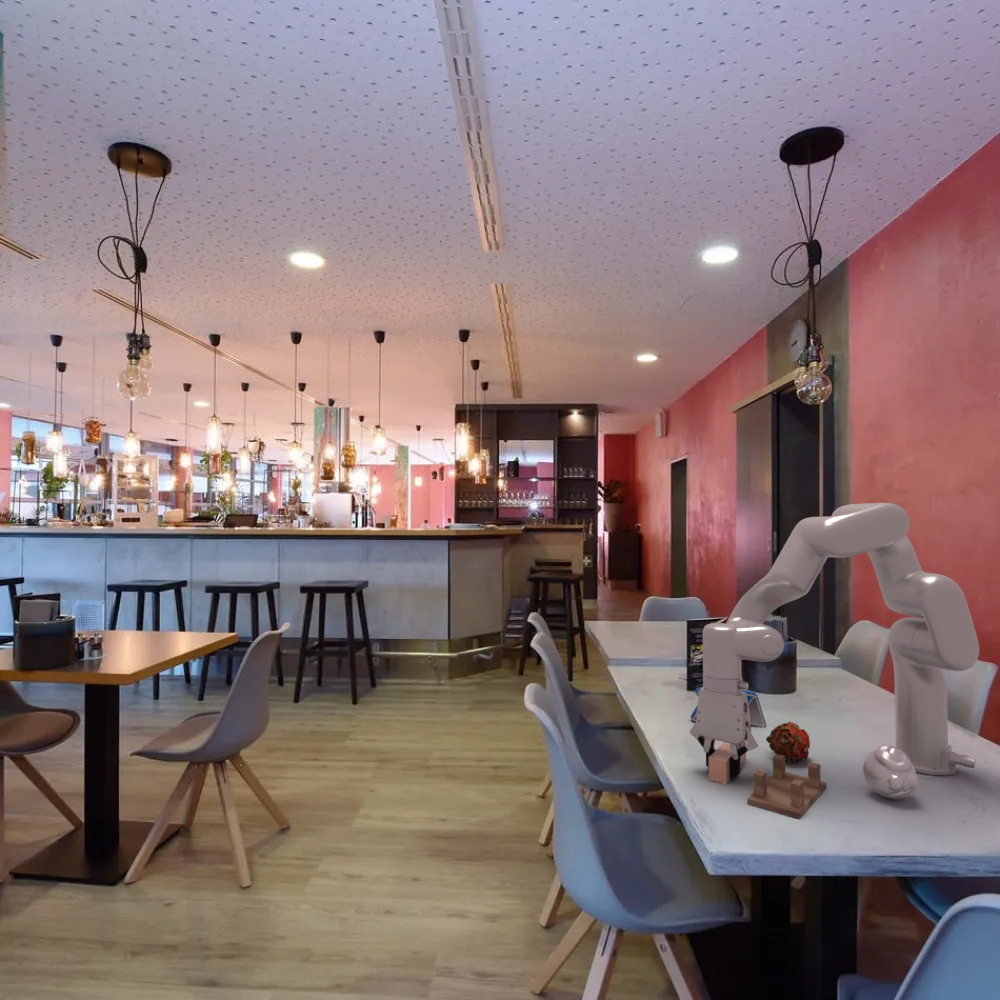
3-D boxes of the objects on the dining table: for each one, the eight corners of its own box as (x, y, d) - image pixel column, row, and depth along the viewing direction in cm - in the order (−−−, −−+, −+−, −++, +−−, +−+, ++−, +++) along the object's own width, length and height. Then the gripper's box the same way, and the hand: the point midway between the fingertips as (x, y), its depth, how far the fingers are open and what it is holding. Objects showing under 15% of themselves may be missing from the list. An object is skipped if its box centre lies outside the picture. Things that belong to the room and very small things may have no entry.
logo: (691, 721, 164) (696, 683, 164) (690, 718, 167) (695, 681, 167) (765, 735, 161) (769, 696, 161) (763, 732, 163) (767, 694, 163)
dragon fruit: (789, 776, 133) (783, 764, 144) (824, 755, 132) (815, 745, 143) (763, 739, 136) (758, 731, 147) (797, 718, 135) (790, 711, 146)
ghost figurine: (861, 801, 117) (860, 747, 118) (865, 784, 125) (863, 733, 126) (919, 813, 112) (918, 757, 113) (919, 794, 120) (917, 742, 121)
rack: (778, 775, 129) (778, 750, 130) (826, 787, 123) (825, 761, 124) (747, 803, 116) (747, 776, 116) (799, 818, 110) (798, 790, 110)
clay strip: (729, 756, 140) (729, 736, 140) (746, 760, 138) (745, 739, 138) (708, 780, 127) (708, 757, 127) (726, 784, 125) (726, 761, 125)
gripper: (769, 687, 127) (771, 779, 126) (691, 674, 138) (692, 758, 137) (756, 695, 121) (758, 790, 121) (676, 680, 132) (677, 768, 132)
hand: (723, 772), depth 129 cm, fingers closed on clay strip, 3 cm apart
